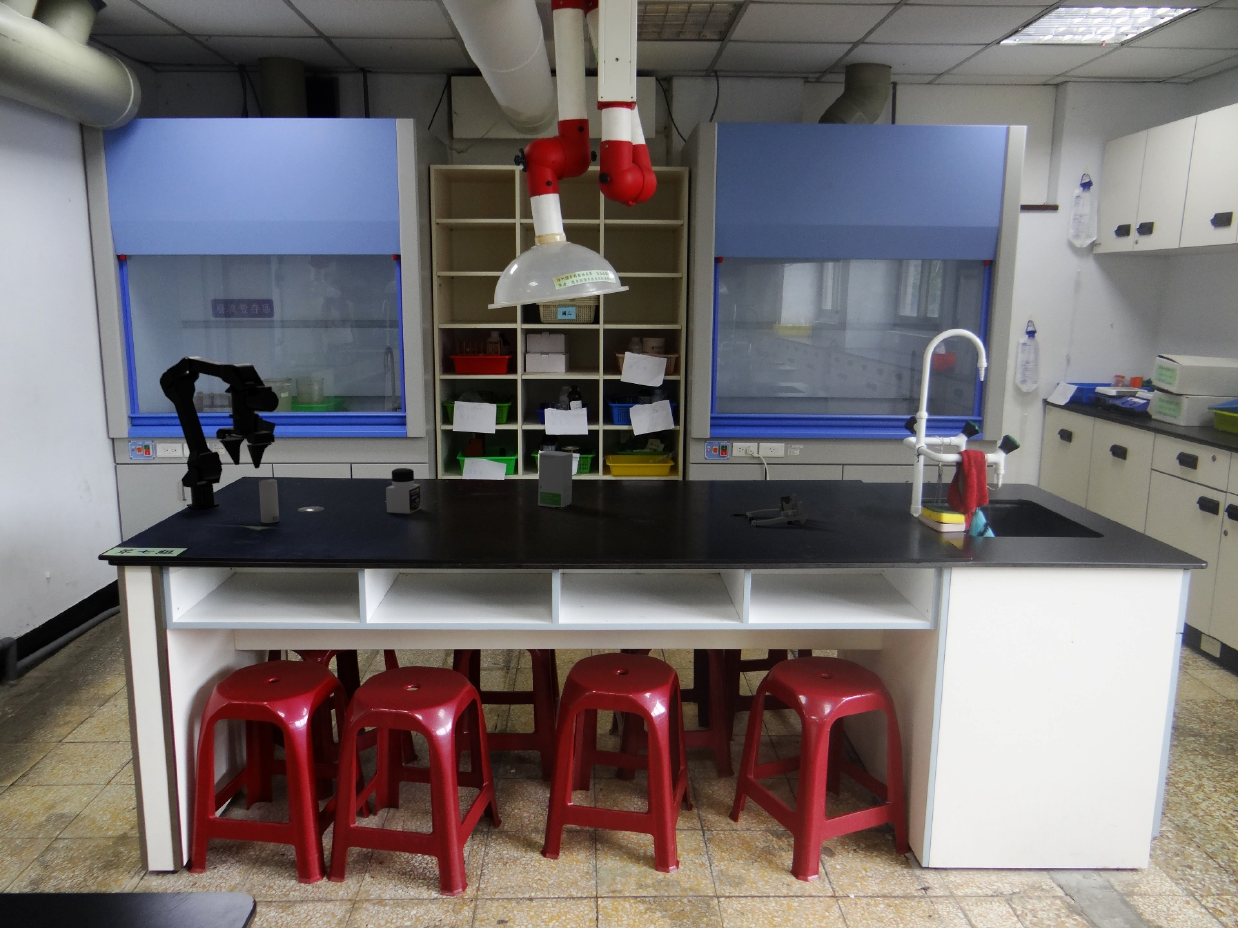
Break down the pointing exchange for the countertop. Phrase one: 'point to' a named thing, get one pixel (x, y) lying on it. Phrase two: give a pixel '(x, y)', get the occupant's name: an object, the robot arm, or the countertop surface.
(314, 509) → the grey shallow disc
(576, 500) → the countertop surface
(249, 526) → the mat
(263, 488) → the grey rounded post
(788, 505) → the bike brake
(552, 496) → the skincare box
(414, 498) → the medicine bottle
